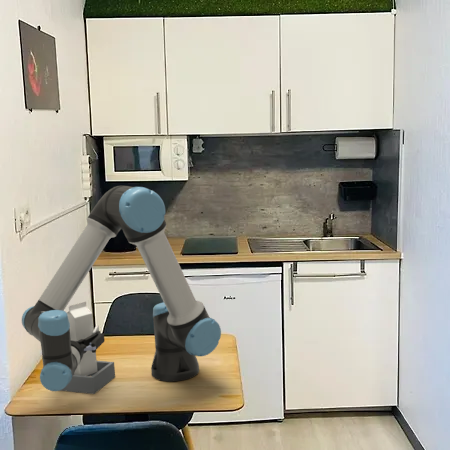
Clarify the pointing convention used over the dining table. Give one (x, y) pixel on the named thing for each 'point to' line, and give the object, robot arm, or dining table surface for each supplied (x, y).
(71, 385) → the housing
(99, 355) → the dining table surface
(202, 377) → the dining table surface
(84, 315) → the milk
